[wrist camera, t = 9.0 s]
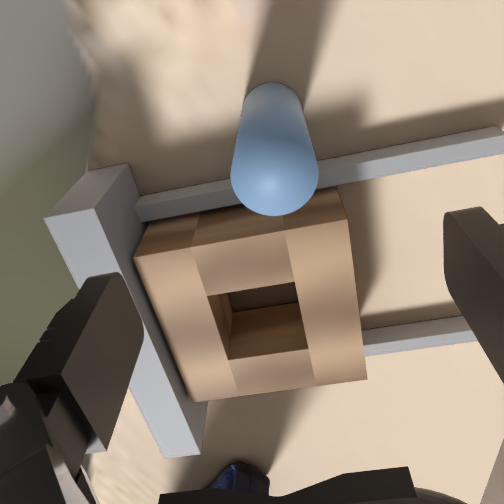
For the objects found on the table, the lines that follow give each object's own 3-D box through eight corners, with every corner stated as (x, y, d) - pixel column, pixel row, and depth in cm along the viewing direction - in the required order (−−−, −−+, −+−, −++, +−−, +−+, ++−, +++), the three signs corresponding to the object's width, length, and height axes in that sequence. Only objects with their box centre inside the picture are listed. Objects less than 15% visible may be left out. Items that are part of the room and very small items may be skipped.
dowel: (235, 89, 24) (220, 142, 16) (296, 76, 23) (311, 123, 16) (248, 148, 25) (241, 222, 18) (306, 136, 25) (324, 207, 17)
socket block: (151, 218, 27) (132, 257, 23) (335, 183, 26) (347, 219, 22) (200, 352, 33) (192, 402, 29) (354, 330, 31) (367, 379, 27)
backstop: (86, 171, 26) (43, 218, 21) (496, 85, 23) (562, 115, 18) (178, 388, 35) (163, 458, 30) (483, 346, 32) (525, 416, 27)
